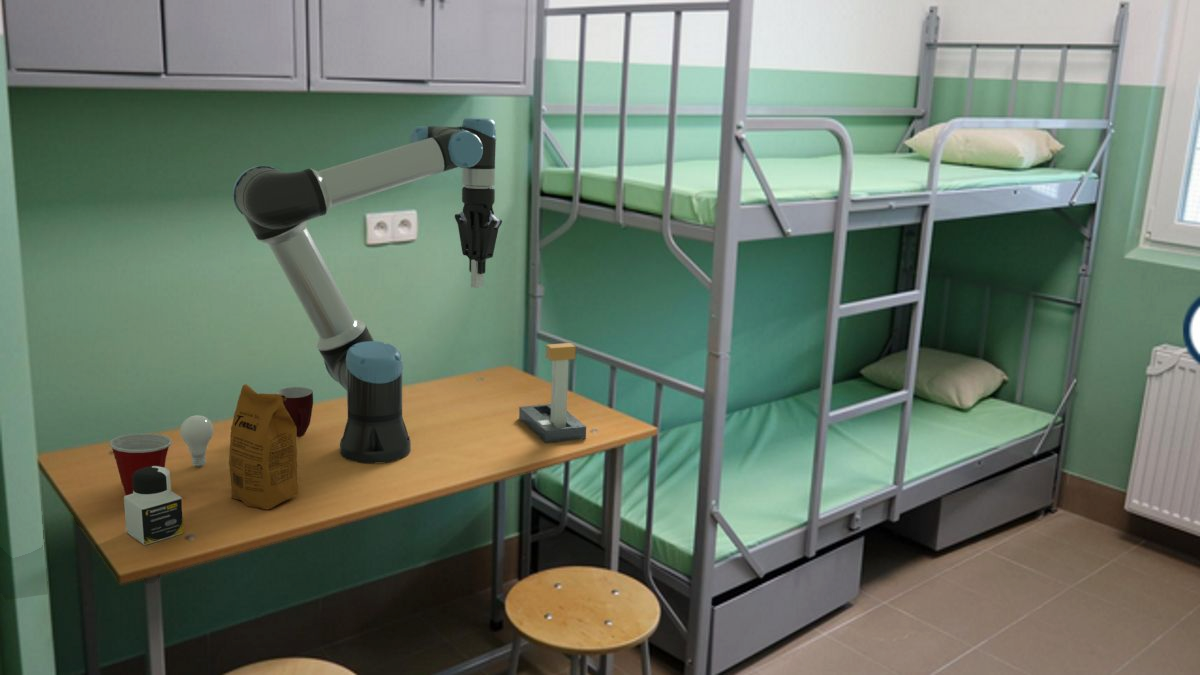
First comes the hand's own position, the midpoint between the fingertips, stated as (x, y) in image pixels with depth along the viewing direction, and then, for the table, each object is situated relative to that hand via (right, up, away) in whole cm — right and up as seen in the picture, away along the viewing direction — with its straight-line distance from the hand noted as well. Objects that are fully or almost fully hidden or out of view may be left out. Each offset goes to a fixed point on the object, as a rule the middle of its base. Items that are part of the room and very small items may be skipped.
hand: (477, 286), depth 240 cm
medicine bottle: (-50, -47, -60) cm, 91 cm away
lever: (+19, -33, -2) cm, 38 cm away
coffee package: (-36, -43, -43) cm, 71 cm away
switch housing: (+18, -34, +2) cm, 38 cm away
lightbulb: (-54, -39, -30) cm, 73 cm away
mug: (-39, -34, -10) cm, 53 cm away
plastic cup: (-58, -43, -46) cm, 86 cm away
